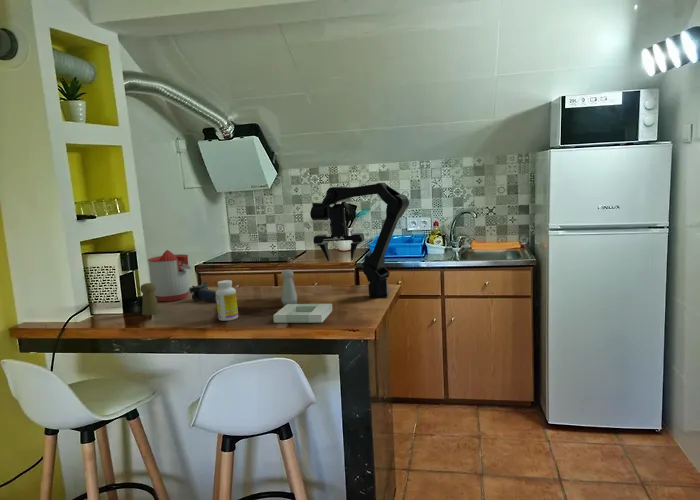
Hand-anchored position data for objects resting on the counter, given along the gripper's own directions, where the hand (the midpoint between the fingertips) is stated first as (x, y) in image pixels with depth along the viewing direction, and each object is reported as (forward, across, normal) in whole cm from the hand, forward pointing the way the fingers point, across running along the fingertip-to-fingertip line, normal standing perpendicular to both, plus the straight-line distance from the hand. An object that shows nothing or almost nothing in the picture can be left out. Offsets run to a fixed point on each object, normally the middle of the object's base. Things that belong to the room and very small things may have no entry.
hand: (340, 260), depth 210 cm
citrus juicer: (+13, +69, +4) cm, 70 cm away
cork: (+13, +66, +26) cm, 72 cm away
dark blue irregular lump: (+14, +51, +9) cm, 54 cm away
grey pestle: (+13, +16, +17) cm, 27 cm away
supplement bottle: (+13, +32, +34) cm, 48 cm away
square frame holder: (+13, +6, +32) cm, 35 cm away
